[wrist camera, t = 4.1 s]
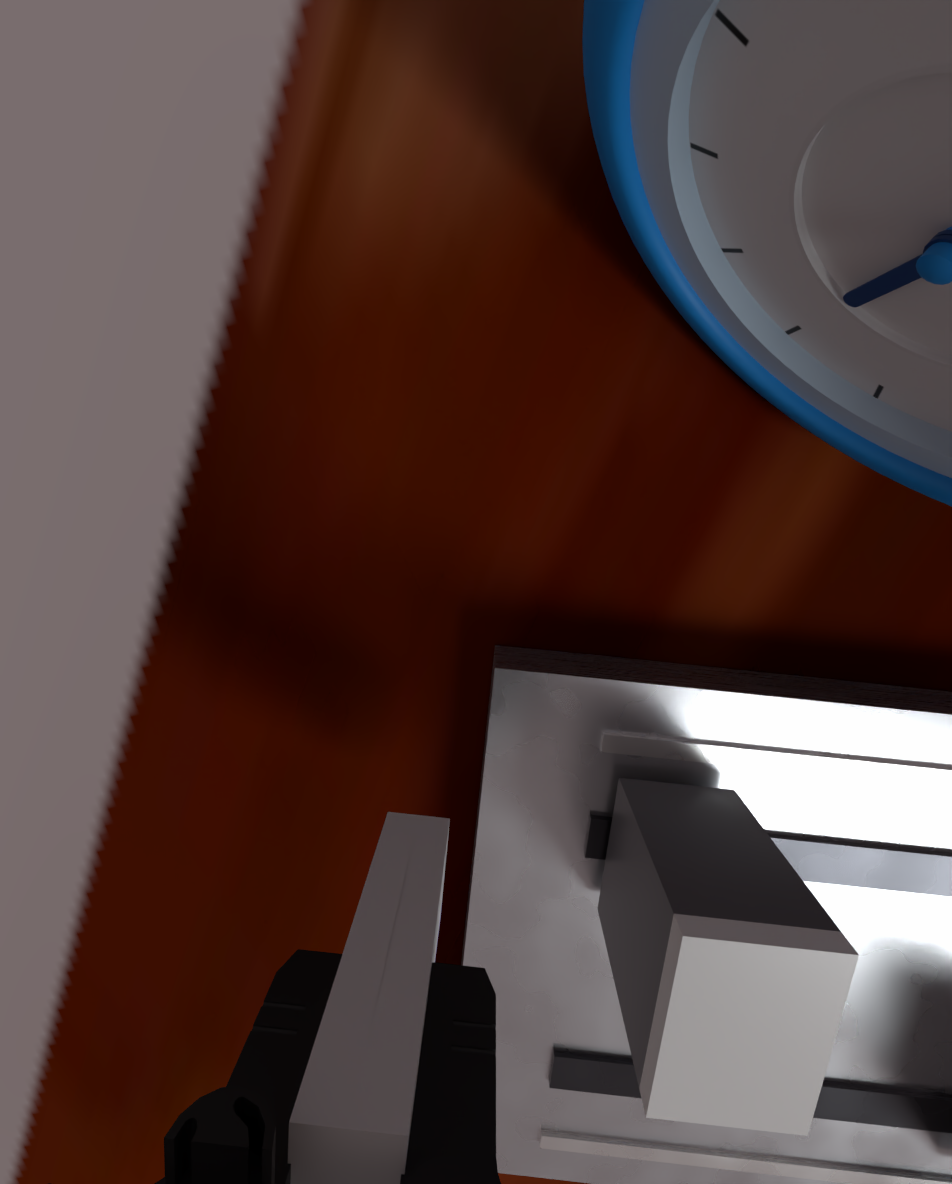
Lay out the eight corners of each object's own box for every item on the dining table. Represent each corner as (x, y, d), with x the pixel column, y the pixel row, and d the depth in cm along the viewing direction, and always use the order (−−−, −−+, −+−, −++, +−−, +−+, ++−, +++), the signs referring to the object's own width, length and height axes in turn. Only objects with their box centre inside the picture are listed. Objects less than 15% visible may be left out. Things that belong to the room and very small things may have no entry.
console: (495, 644, 16) (494, 672, 14) (1396, 736, 16) (1542, 779, 14) (446, 1098, 20) (440, 1177, 18) (1183, 1181, 20) (1272, 1273, 17)
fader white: (618, 777, 15) (682, 936, 10) (734, 790, 15) (858, 955, 10) (597, 909, 15) (645, 1117, 10) (706, 920, 15) (807, 1136, 10)
